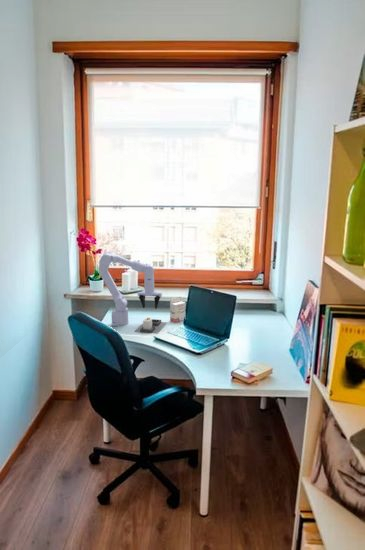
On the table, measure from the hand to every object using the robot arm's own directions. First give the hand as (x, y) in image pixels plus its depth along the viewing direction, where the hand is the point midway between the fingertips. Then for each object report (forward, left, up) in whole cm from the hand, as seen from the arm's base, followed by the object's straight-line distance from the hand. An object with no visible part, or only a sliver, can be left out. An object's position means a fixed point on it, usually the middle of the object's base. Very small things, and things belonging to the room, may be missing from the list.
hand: (150, 307), depth 244 cm
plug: (+3, -14, -9) cm, 17 cm away
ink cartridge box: (+15, +8, -10) cm, 20 cm away
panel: (+3, -8, -10) cm, 13 cm away
